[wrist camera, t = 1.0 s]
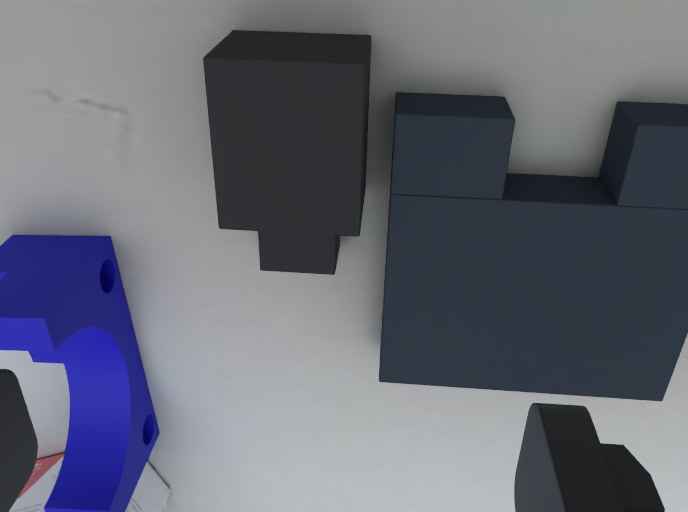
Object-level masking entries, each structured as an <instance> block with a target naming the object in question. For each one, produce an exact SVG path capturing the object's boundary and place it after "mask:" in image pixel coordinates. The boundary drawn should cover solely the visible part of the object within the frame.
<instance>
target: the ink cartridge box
mask: <svg viewBox="0 0 688 512" xmlns="http://www.w3.org/2000/svg"><path fill="white" fill-rule="evenodd" d="M63 458H64V454H59V455H56V456H51V457H47V458H44V459H40V460H36V463H35V467H34V470H33V472H32V475H31V477H30V479H29V480H28V482H27V484H26V485H25V487H24V488H23V490H22V492H21V493H20V495H19V496H18V498H17V500H16V501H15V503H14V504H13V506H12V508H11V509H10V511H9V512H45V510H44V506H45V504H46V502H47V500H48V498H49V496H50V494H51V492H52V490H53V487H54V485H55V482H56V480H57V477H58V474H59V471H60V468H61V465H62V461H63ZM169 494H170V489H169V488H168V487H167V485H166V484H165V483H164V482H163V481H162V479H161V478H160V477H159V476H158V474H157V473H156V472H155V471H154V469H153V468H152V467H151V466H150V465H149V463H148V462H147V463H146V465H145V467H144V470H143V472H142V474H141V477H140V479H139V481H138V483H137V486H136V488H135V490H134V493H133V495H132V497H131V499H130V502H129V504H128V506H127V509H126V511H125V512H163V511H164V508H165V505H166V503H167V500H168V497H169Z"/></svg>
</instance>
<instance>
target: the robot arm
mask: <svg viewBox="0 0 688 512" xmlns="http://www.w3.org/2000/svg"><path fill="white" fill-rule="evenodd" d="M37 451H38V444H37V438H36V434H35V431H34V428H33V425H32V422H31V419H30V416H29V413H28V410H27V407H26V403H25V400H24V397H23V394H22V391H21V388H20V385H19V382H18V379H17V377H16V375H15V374H14V373H13V372H12V371H10V370H7V369H0V512H9V511H10V509H11V508H12V506H13V504H14V503H15V501H16V500H17V498H18V496H19V495H20V493H21V492H22V490H23V488H24V487H25V485H26V484H27V482H28V480H29V479H30V477H31V475H32V472H33V470H34V467H35V463H36V459H37ZM514 492H515V510H516V512H664V511H665V508H664V506H663V504H662V501H661V499H660V496H659V494H658V492H657V489H656V487H655V485H654V482H653V480H652V477H651V475H650V474H649V473H648V472H647V471H646V469H645V468H644V467H643V466H642V465H641V464H640V463H639V462H638V461H637V459H636V458H635V457H634V456H633V455H632V454H631V453H630V452H629V451H628V450H627V448H626V447H625V446H624V445H616V444H601V443H600V441H599V439H598V436H597V433H596V430H595V427H594V425H593V422H592V419H591V416H590V414H589V412H588V410H587V408H586V407H584V406H575V405H559V404H543V403H533V404H532V405H531V406H530V409H529V412H528V417H527V422H526V426H525V431H524V436H523V441H522V445H521V450H520V455H519V460H518V464H517V469H516V475H515V489H514Z"/></svg>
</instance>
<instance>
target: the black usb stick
mask: <svg viewBox="0 0 688 512" xmlns="http://www.w3.org/2000/svg"><path fill="white" fill-rule="evenodd" d="M370 56H371V36H370V35H348V34H321V33H293V32H266V31H239V30H233V31H232V32H231V33H230V34H229V35H228V36H226V37H225V38H224V39H223V40H222V41H221V42H220V43H219V44H218V45H217V46H216V47H214V48H213V49H212V50H211V51H210V52H209V53H208V54H207V55H206V56H205V57H204V58H203V62H204V72H205V83H206V94H207V104H208V115H209V126H210V136H211V147H212V158H213V168H214V179H215V190H216V200H217V211H218V222H219V228H220V229H232V230H250V231H258V236H259V253H260V269H261V270H264V271H281V272H298V273H315V274H332V275H334V274H335V270H336V265H337V259H338V253H339V247H340V235H341V236H359V235H360V228H361V220H362V211H363V203H364V195H365V183H366V158H367V132H368V107H369V81H370Z"/></svg>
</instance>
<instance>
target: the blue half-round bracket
mask: <svg viewBox="0 0 688 512" xmlns="http://www.w3.org/2000/svg"><path fill="white" fill-rule="evenodd" d="M0 350H21V351H29V353H30V355H31V357H32V360H33V362H43V363H64V365H65V368H66V373H67V377H68V383H69V392H70V422H69V431H68V438H67V444H66V449H65V453H64V458H63V461H62V465H61V468H60V471H59V474H58V477H57V480H56V482H55V485H54V487H53V490H52V492H51V494H50V496H49V498H48V500H47V502H46V504H45V506H44V510H45V512H125V511H126V509H127V506H128V504H129V502H130V499H131V497H132V495H133V493H134V490H135V488H136V486H137V483H138V481H139V479H140V477H141V474H142V472H143V470H144V467H145V465H146V463H147V461H148V458H149V456H150V454H151V451H152V449H153V447H154V445H155V442H156V440H157V438H158V435H159V430H158V425H157V421H156V417H155V413H154V409H153V405H152V401H151V397H150V393H149V389H148V385H147V381H146V377H145V373H144V369H143V365H142V361H141V357H140V353H139V349H138V345H137V341H136V337H135V333H134V329H133V325H132V321H131V317H130V313H129V309H128V305H127V301H126V297H125V293H124V289H123V285H122V281H121V277H120V273H119V269H118V265H117V261H116V257H115V253H114V249H113V245H112V241H111V237H102V236H29V235H12V236H11V237H10V238H9V239H8V240H7V241H6V242H5V243H3V244H2V245H1V246H0Z"/></svg>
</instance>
